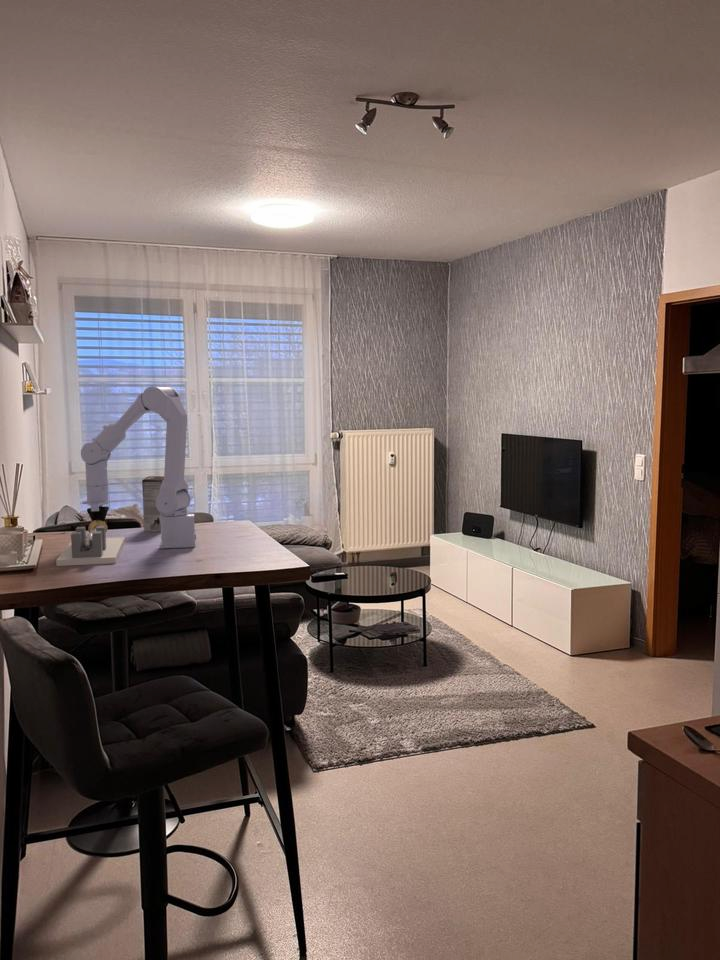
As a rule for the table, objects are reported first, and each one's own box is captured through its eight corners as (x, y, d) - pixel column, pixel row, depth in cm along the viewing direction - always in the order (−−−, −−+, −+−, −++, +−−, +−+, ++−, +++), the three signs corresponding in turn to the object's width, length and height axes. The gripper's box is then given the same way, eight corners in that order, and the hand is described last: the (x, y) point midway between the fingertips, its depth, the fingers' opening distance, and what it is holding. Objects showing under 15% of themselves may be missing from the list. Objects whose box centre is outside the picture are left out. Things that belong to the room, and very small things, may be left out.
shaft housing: (124, 542, 220) (123, 516, 219) (115, 563, 194) (114, 533, 193) (72, 544, 217) (71, 518, 216) (56, 566, 191) (55, 536, 190)
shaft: (107, 536, 218) (107, 519, 218) (98, 553, 196) (97, 534, 195) (89, 537, 217) (88, 519, 217) (77, 554, 195) (76, 535, 194)
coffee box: (150, 526, 246) (148, 476, 244) (170, 526, 246) (168, 475, 244) (143, 531, 237) (141, 479, 235) (164, 531, 237) (162, 479, 235)
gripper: (85, 482, 224) (87, 528, 226) (78, 488, 210) (80, 538, 212) (111, 481, 225) (113, 527, 227) (105, 488, 211) (107, 537, 213)
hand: (99, 532), depth 219 cm, fingers closed
